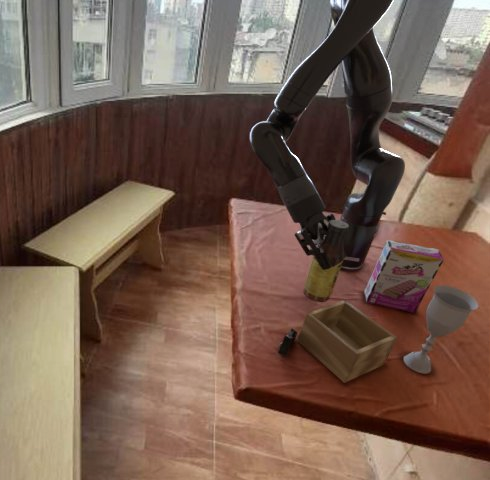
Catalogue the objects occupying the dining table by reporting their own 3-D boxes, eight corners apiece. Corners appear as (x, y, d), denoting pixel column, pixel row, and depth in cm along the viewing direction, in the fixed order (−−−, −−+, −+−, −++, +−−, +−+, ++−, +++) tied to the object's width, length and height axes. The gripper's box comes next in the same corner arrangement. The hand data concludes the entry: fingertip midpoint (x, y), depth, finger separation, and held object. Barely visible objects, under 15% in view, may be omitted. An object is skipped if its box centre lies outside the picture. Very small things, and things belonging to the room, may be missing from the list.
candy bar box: (366, 303, 104) (389, 248, 96) (363, 292, 108) (385, 238, 100) (416, 314, 101) (445, 259, 93) (411, 302, 105) (438, 248, 97)
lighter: (280, 348, 93) (289, 326, 93) (290, 352, 92) (298, 330, 92) (274, 351, 86) (284, 328, 86) (284, 356, 85) (294, 333, 85)
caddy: (334, 326, 97) (344, 299, 92) (383, 365, 87) (397, 337, 83) (297, 340, 92) (306, 313, 88) (344, 383, 82) (357, 354, 78)
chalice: (391, 351, 90) (425, 285, 81) (420, 350, 91) (457, 285, 82) (413, 378, 84) (453, 310, 75) (444, 377, 85) (488, 309, 75)
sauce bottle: (331, 305, 98) (359, 234, 88) (304, 301, 99) (328, 230, 89) (326, 288, 104) (351, 219, 93) (300, 284, 105) (322, 215, 94)
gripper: (297, 200, 89) (334, 270, 88) (330, 184, 97) (364, 248, 96) (271, 213, 95) (305, 278, 94) (303, 197, 104) (335, 257, 102)
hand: (334, 263), depth 95 cm, fingers closed on sauce bottle, 6 cm apart
